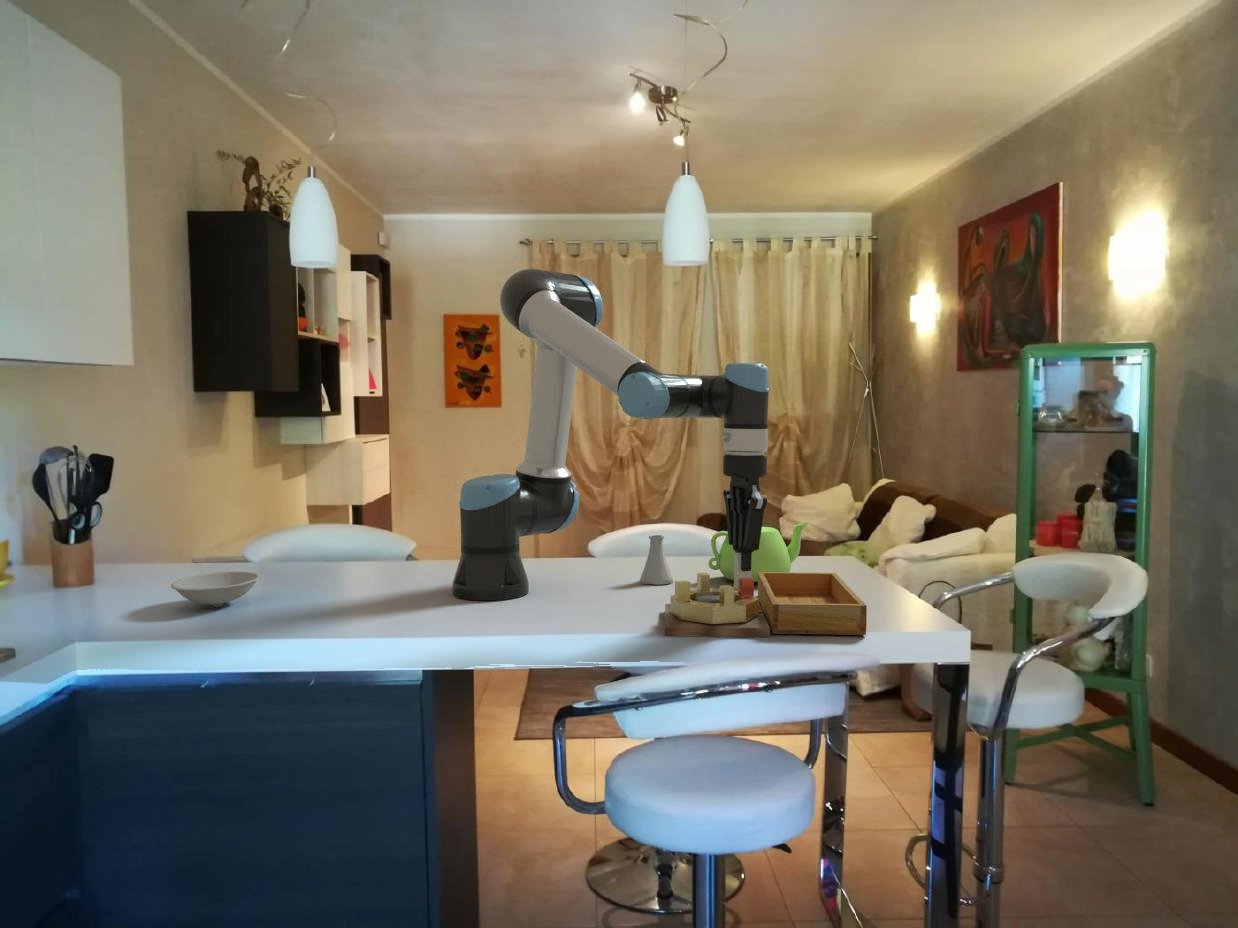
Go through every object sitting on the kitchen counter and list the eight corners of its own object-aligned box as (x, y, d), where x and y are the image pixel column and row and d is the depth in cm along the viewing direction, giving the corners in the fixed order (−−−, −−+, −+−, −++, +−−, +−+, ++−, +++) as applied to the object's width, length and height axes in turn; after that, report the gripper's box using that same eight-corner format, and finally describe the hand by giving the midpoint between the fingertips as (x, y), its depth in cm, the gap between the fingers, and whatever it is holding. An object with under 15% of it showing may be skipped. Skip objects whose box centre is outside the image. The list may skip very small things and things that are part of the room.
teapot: (799, 573, 199) (800, 515, 198) (819, 586, 184) (820, 524, 183) (702, 574, 198) (702, 516, 197) (714, 588, 183) (715, 525, 182)
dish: (225, 618, 157) (224, 590, 157) (151, 615, 159) (150, 588, 159) (278, 597, 175) (277, 572, 174) (211, 595, 177) (210, 570, 176)
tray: (757, 598, 175) (757, 569, 175) (835, 599, 174) (835, 570, 174) (771, 638, 145) (772, 603, 144) (866, 640, 144) (867, 605, 143)
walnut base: (664, 635, 145) (664, 609, 144) (665, 611, 162) (665, 588, 161) (771, 637, 144) (772, 610, 143) (761, 612, 161) (761, 589, 160)
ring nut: (663, 606, 158) (663, 574, 157) (737, 602, 161) (737, 570, 161) (688, 625, 144) (688, 590, 144) (768, 620, 147) (769, 585, 147)
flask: (673, 579, 192) (673, 533, 192) (673, 586, 185) (673, 538, 185) (640, 578, 193) (640, 533, 192) (638, 585, 186) (638, 538, 185)
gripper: (710, 451, 158) (708, 582, 160) (740, 456, 146) (738, 597, 147) (749, 450, 160) (746, 580, 162) (782, 455, 148) (779, 595, 150)
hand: (742, 588), depth 155 cm, fingers closed
